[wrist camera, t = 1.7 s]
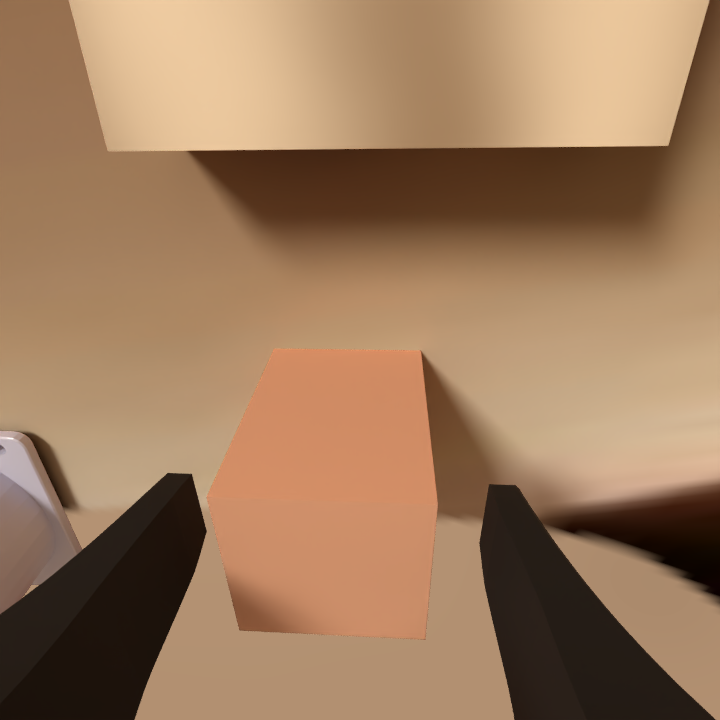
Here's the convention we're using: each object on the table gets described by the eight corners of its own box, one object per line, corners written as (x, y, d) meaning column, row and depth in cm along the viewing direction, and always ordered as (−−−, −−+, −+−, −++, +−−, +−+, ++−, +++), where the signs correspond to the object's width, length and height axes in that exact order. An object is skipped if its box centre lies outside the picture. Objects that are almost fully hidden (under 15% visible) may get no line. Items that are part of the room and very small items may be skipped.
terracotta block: (287, 459, 16) (239, 630, 11) (274, 348, 14) (206, 497, 9) (414, 462, 16) (425, 639, 11) (420, 350, 14) (437, 504, 9)
